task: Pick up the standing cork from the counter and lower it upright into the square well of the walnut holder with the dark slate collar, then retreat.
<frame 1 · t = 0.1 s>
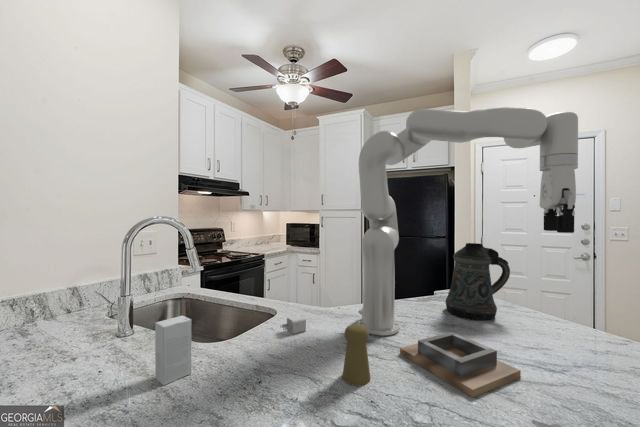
hand: (557, 231, 75), 31 cm above the countertop, tool pointing down, fingers open, 9 cm apart
skincare box: (173, 377, 64), on the countertop
usb wall charger: (292, 332, 88), on the countertop
beer stein: (473, 313, 107), on the countertop
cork: (356, 378, 64), on the countertop
shaker holder: (455, 364, 70), on the countertop
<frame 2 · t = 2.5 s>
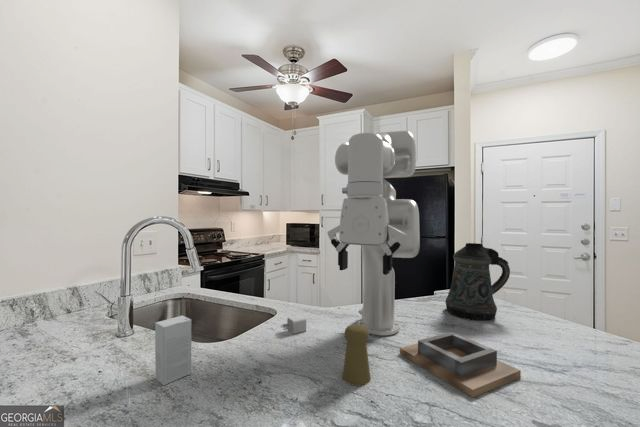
hand: (364, 271, 64), 23 cm above the countertop, tool pointing down, fingers open, 9 cm apart
nothing on the countertop moved.
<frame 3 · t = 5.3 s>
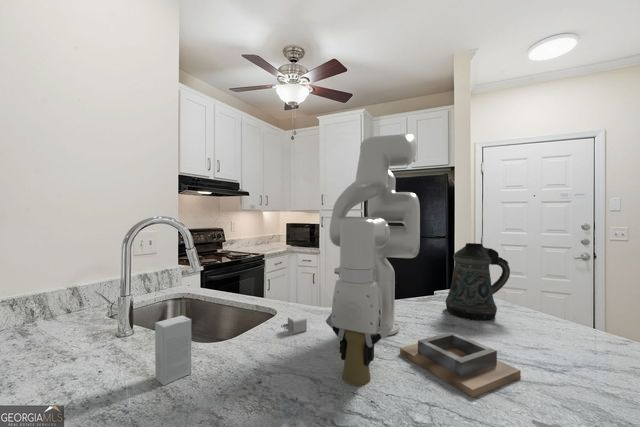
hand: (356, 359, 64), 4 cm above the countertop, tool pointing down, fingers closed on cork, 4 cm apart
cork: (356, 378, 64), on the countertop, touching gripper
everything else where it was.
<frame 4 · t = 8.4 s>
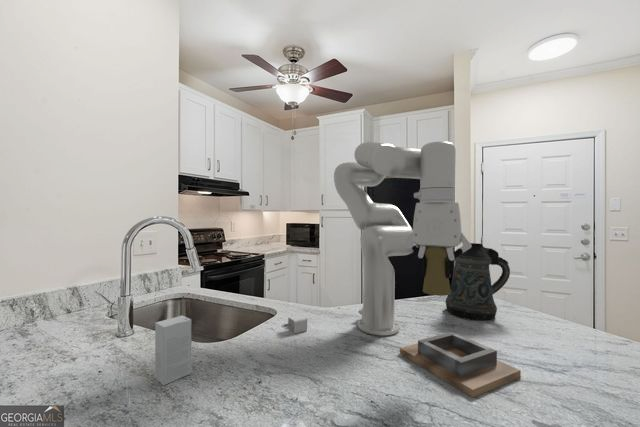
hand: (436, 275, 68), 21 cm above the countertop, tool pointing down, fingers closed on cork, 4 cm apart
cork: (436, 293, 68), point 17 cm above the countertop, touching gripper
everything else where it was.
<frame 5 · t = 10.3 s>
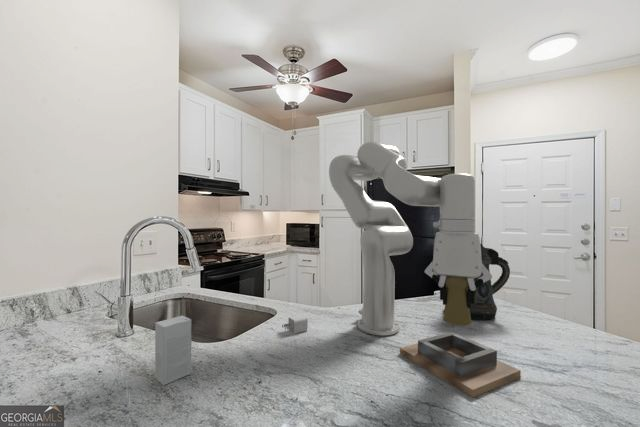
hand: (456, 304, 70), 14 cm above the countertop, tool pointing down, fingers closed on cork, 4 cm apart
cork: (457, 321, 69), point 10 cm above the countertop, touching gripper
everything else where it was.
when the fingers open (7 cm above the countertop, at t = 12.0 s): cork drops 1 cm, resting on shaker holder.
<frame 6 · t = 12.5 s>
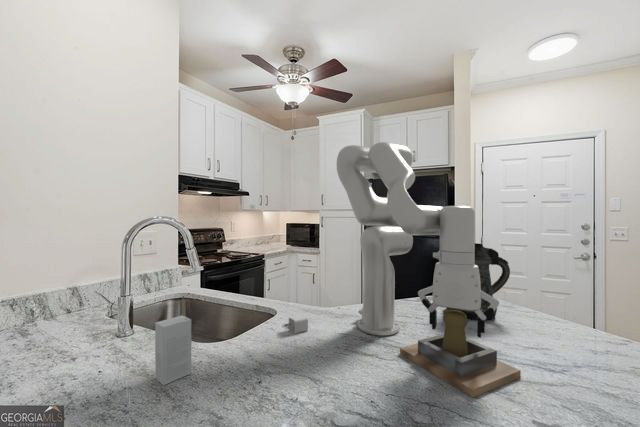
hand: (456, 331, 70), 8 cm above the countertop, tool pointing down, fingers open, 9 cm apart
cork: (454, 359, 70), point 1 cm above the countertop, touching shaker holder
everything else where it was.
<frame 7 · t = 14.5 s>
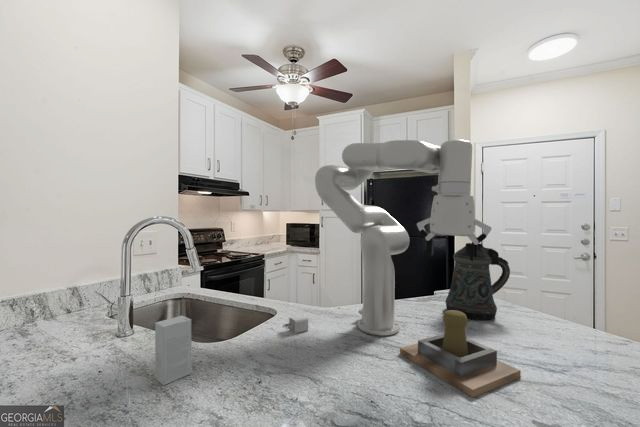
hand: (450, 257, 75), 24 cm above the countertop, tool pointing down, fingers open, 9 cm apart
nothing on the countertop moved.
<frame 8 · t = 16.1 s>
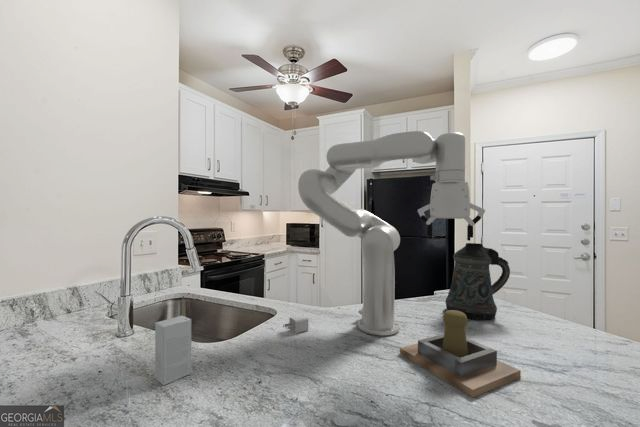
hand: (449, 239, 83), 28 cm above the countertop, tool pointing down, fingers open, 9 cm apart
nothing on the countertop moved.
at the end: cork 0.3 cm off-centre on the shaker holder, point 1.3 cm above the shaker holder's base; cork tilted 0°; the gripper is holding nothing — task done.
